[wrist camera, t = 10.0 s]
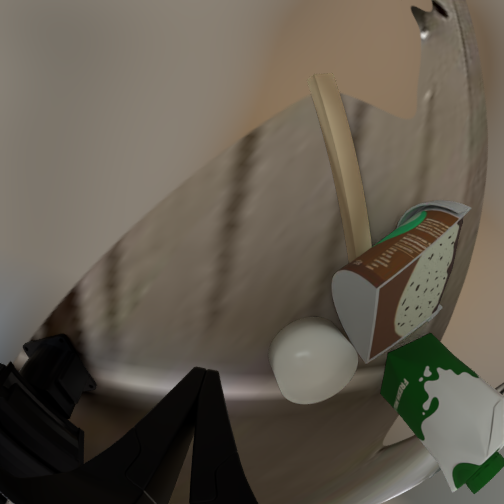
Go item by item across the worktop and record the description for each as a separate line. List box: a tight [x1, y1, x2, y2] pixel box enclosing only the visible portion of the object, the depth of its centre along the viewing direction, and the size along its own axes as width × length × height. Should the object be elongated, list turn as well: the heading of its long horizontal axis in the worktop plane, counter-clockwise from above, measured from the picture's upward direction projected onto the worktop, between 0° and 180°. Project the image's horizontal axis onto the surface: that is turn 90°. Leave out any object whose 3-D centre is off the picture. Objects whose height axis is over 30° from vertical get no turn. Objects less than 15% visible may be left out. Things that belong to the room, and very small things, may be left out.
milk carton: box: [380, 333, 504, 494], centre depth 18 cm, size 9×9×20 cm
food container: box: [331, 200, 471, 364], centre depth 19 cm, size 12×6×10 cm
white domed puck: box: [268, 317, 358, 404], centre depth 22 cm, size 7×7×4 cm
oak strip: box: [307, 73, 372, 263], centre depth 19 cm, size 2×16×2 cm, turn 15°
